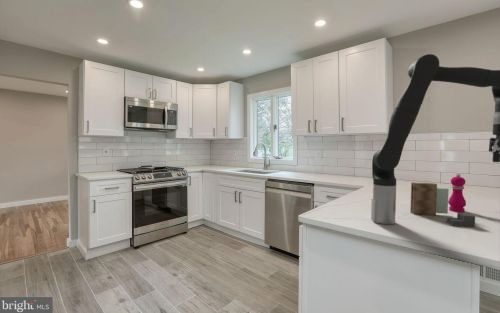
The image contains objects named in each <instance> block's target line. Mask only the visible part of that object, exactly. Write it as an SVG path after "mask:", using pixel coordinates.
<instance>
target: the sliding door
mask: <svg viewBox="0 0 500 313" xmlns="http://www.w3.org/2000/svg"><path fill="white" fill-rule="evenodd" d="M448 201H449V188H447V187H446V188H445V187H444V188H443V187H441V188H440V187H439V188H438V187H437V199H436V214H445V215H447V214H448V213H449V212H448V211H449V203H448Z"/></svg>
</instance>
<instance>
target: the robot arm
mask: <svg viewBox="0 0 500 313" xmlns="http://www.w3.org/2000/svg"><path fill="white" fill-rule="evenodd" d="M407 74H408V76H409V78H410V81H409V83H408V85H407V87H406V89H405V90H404V92H403V94H401V96H400V97H399V99H398V101H397V103H396V104H395V106H394V109H393V112H392V114H391V116H390V120H389V124H388V132H387V137H386V140H385V141H384V144H383V146H382V148H381V149H379V150H377V151H375V152H374V154H373V155H372V160H371V162H372V164H371V166H372V167H371V168H372V170H371V171H372V173H371V176H372V183H373V184H372V185H373V186H372V199H371V205H370V206H371V208H370V209H371V210H370V211H371V213H370V215H371V217H370V219H371V220H372V222H373V223H376V224H382V225H395V224H396V207H397V205H396V204H397V179H396V177H395V168H397V167H398V165H399V163H400V160H401V158H402V153H403V150H404V146H405V143H406V141H407V139H408V137H409V135H410V132H411V131H412V128H413V126H414V124H415V122H416V120H417V118H418V115H419V112H420V109H421V107H422V104H423V103H424V102H423V101H424V100H425V97H426V94H427V91H428V89H429V87H430V85H431V84H432V83H433V82H442V83H443V82H444V83H450V84H451V83H453V84H457V85H458V84H460V85H465V86H470V87H477V88H487V87H488V88H489V87H491V92H492V97H493V100H494V103H495V104H494V114H493V120H492V122H493V123H492V135H493V136H495V137H490V139H489V144H488V152H490V153H491V154H492V162H493V163H500V69H488V68H482V67H474V66H473V67H472V66H471V67H470V66H459V67H456V66H455V67H454V66H452V67H451V66H450V67H448V66H440V60H439V57H438V56H436V55H435V54H433V53H428V54H424V55H422V56H420V57H419V58H417V59H416V60H415V61H413V62H412V63H411V65H410V66H409V67H408V70H407Z"/></svg>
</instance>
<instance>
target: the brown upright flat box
mask: <svg viewBox="0 0 500 313" xmlns="http://www.w3.org/2000/svg"><path fill="white" fill-rule="evenodd" d="M437 188H438V183H434V182H415V181H414V182H411V185H410V190H411V191H410V207H409V208H410V214H412V215H419V216H420V215H421V216H437V215H436V214H437V213H436V199H437Z"/></svg>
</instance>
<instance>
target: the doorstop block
mask: <svg viewBox="0 0 500 313" xmlns="http://www.w3.org/2000/svg"><path fill="white" fill-rule="evenodd" d="M456 213H457V214H456V215H457V217H450V216H449V217H446V223H447V224H449V225H450V226H452V227H461V226H462V227H464V228H476V216H475V215H473V214H471V213H468V212H456Z"/></svg>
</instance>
